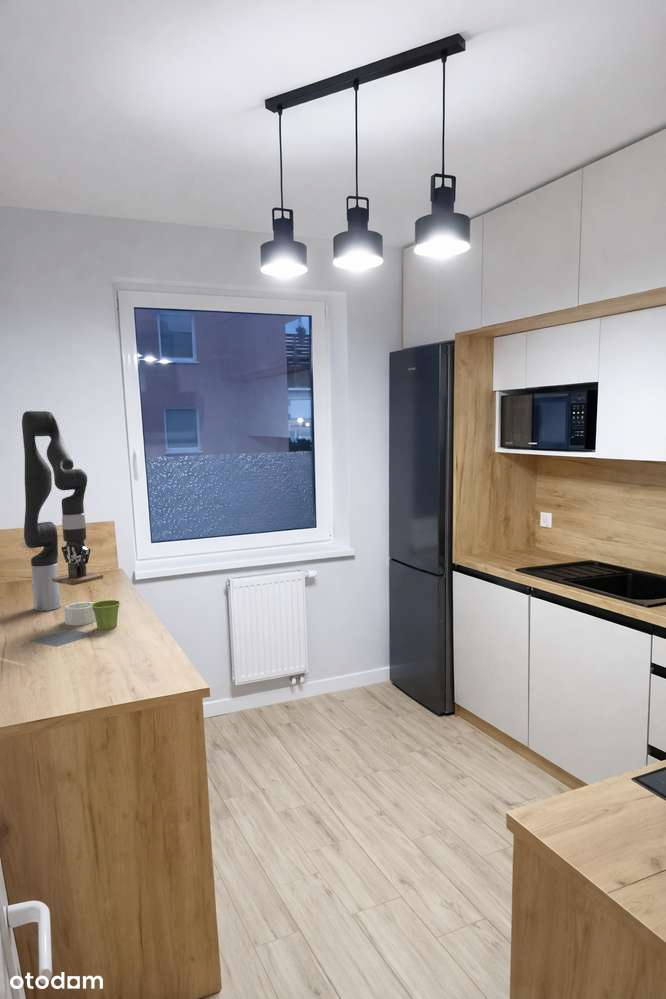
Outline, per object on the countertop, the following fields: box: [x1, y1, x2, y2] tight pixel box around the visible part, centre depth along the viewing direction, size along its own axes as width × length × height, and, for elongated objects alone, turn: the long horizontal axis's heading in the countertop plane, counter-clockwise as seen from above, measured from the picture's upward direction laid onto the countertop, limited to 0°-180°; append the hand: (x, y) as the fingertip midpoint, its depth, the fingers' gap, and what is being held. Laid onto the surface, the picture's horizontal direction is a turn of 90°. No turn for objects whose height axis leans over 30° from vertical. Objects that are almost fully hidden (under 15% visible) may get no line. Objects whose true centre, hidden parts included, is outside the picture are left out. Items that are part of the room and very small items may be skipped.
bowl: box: [63, 601, 96, 626], centre depth 230 cm, size 10×10×6 cm
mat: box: [30, 628, 95, 648], centre depth 211 cm, size 14×14×1 cm
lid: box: [52, 560, 104, 586], centre depth 228 cm, size 12×12×6 cm
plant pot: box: [91, 599, 121, 631], centre depth 221 cm, size 9×9×9 cm
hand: (77, 575), depth 228 cm, fingers closed on lid, 3 cm apart
